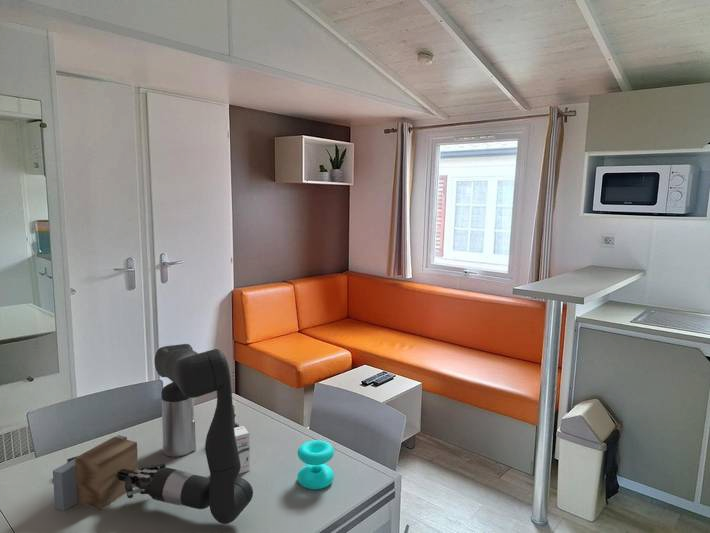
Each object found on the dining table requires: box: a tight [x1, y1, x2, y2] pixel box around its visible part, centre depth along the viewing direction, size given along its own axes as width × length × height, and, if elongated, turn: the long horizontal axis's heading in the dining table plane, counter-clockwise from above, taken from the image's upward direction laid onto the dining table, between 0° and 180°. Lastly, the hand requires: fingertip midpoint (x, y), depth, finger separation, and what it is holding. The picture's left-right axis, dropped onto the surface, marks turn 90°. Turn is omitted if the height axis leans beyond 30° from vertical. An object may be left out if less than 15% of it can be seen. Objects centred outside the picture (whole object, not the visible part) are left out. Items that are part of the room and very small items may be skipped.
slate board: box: [52, 434, 128, 512], centre depth 125 cm, size 3×20×10 cm, turn 160°
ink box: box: [234, 425, 251, 475], centre depth 134 cm, size 8×5×12 cm, turn 123°
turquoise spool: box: [297, 439, 335, 490], centre depth 130 cm, size 10×10×10 cm
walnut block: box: [75, 436, 139, 511], centre depth 123 cm, size 8×12×12 cm, turn 160°
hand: (120, 474), depth 122 cm, fingers closed
